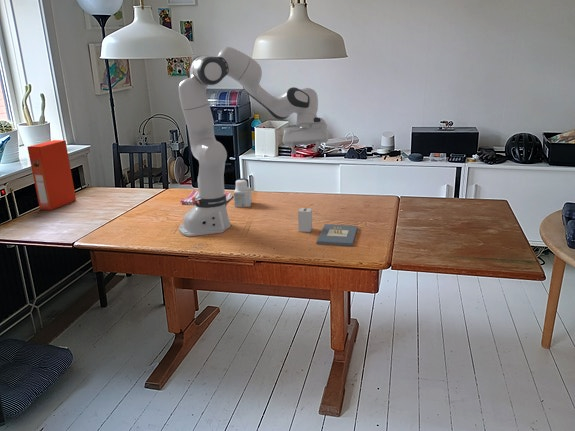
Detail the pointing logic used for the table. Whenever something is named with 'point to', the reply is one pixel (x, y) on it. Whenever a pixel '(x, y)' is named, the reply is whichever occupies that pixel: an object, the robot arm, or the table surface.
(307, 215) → the block
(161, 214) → the table surface
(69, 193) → the file binder
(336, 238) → the header board
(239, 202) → the container
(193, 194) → the dish towel
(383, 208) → the table surface
